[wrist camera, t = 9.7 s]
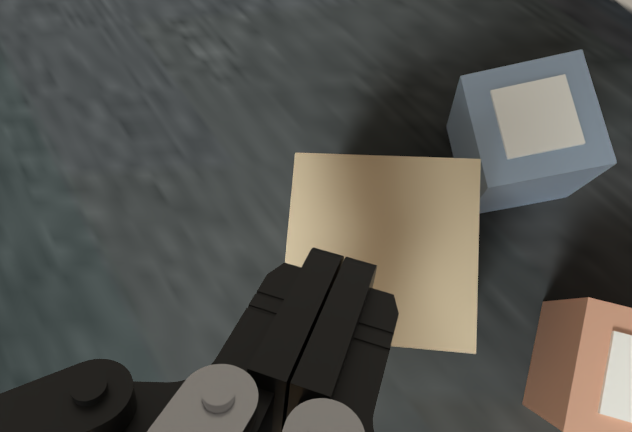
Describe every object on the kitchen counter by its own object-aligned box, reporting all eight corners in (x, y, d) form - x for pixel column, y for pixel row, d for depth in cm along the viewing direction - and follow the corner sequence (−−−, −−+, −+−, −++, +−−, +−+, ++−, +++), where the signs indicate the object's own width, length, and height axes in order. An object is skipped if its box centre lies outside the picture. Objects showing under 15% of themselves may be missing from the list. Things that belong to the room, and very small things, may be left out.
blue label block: (541, 106, 27) (583, 46, 21) (566, 197, 26) (619, 161, 20) (446, 126, 27) (460, 73, 21) (467, 216, 26) (488, 186, 20)
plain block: (455, 204, 26) (480, 158, 19) (450, 342, 25) (476, 353, 17) (322, 198, 28) (295, 152, 20) (311, 329, 26) (278, 335, 19)
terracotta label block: (652, 329, 24) (739, 333, 18) (634, 437, 23) (719, 479, 17) (542, 301, 25) (590, 297, 19) (522, 404, 24) (565, 433, 18)
